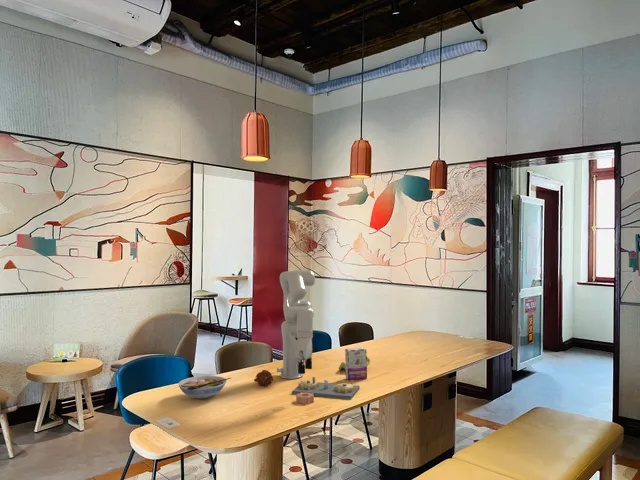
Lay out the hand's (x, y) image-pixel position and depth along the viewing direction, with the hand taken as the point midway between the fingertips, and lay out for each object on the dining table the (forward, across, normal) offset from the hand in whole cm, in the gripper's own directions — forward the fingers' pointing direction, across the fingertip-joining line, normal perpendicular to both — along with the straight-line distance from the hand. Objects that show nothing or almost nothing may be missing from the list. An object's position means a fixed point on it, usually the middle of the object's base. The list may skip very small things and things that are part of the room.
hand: (305, 371), depth 216 cm
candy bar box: (+14, -46, +14) cm, 50 cm away
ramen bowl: (+14, +7, -50) cm, 53 cm away
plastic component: (+14, -65, +9) cm, 67 cm away
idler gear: (+14, -1, 0) cm, 14 cm away
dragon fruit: (+14, -20, -30) cm, 39 cm away
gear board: (+14, -19, +5) cm, 24 cm away
